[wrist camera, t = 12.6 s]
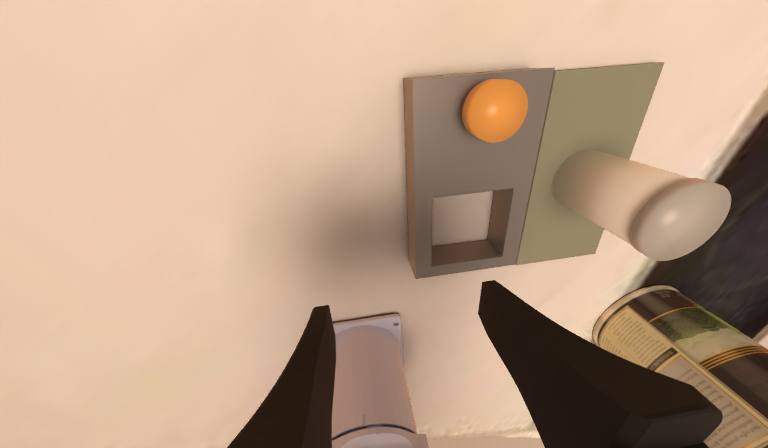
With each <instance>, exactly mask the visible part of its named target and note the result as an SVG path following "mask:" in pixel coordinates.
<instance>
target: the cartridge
mask: <svg viewBox="0 0 768 448" xmlns="http://www.w3.org/2000/svg"><path fill="white" fill-rule="evenodd" d="M552 193H553V196H554V198H555V199H556V200H557V201H558V202H559V203H561V204H563V205H565V206H566V207H568V208H570V209H571V210H573V211H575V212H577V213H578V214H580V215H582V216H583V217H585V218H587V219H588V220H590V221H592V222H594V223H595V224H597V225H599V226H600V227H602V228H604V229H605V230H607V231H609V232H611V233H612V234H614V235H616V236H617V237H619V238H621V239H622V240H624V241H626V242H628V243H629V244H631V245H632V246H633V247H634V248H635V249H636V250H638V251H639V252H641V253H643V254H644V255H646V256H648V257H649V258H651V259H653V260H657V261H668V260H673V259H676V258H679V257H682V256H684V255H686V254H688V253H690V252H692V251H693V250H695V249H696V248H698V247H699V246H701V245H702V244H703V243H704V242H706V241H707V240H708V239H709V238H710V237H711V236H712V235H713V234H714V233H715V232H716V231H717V230H718V228H719V227H720V226H721V224H722V223H723V222H724V220H725V218H726V216H727V214H728V212H729V209H730V205H731V196H730V193H729V191H728V190H727V188H725V187H724V186H722V185H719V184H716V183H713V182H709V181H706V180H702V179H697V178H688V177H685V176H681V175H678V174H675V173H671V172H668V171H665V170H661V169H658V168H655V167H651V166H648V165H645V164H641V163H638V162H635V161H631V160H628V159H625V158H621V157H618V156H615V155H611V154H608V153H605V152H601V151H598V150H593V149H588V150H583V151H580V152H577V153H576V154H574V155H572V156H571V157H569V158H568V159H567V160H566V161H565V162H564V163H563V164H562V165H561V166H560V167H559V169H558V170H557V172H556V174H555V176H554V179H553V183H552Z"/></svg>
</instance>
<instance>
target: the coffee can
mask: <svg viewBox="0 0 768 448" xmlns="http://www.w3.org/2000/svg"><path fill="white" fill-rule="evenodd" d="M593 340H594V342H595V344H596V345H597V346H598V347H600V348H602V349H604V350H607V351H609V352H611V353H613V354H615V355H617V356H619V357H621V358H624V359H626V360H628V361H630V362H633V363H635V364H638V365H640V366H642V367H645V368H647V369H650V370H652V371H655V372H657V373H660V374H663V375H666V376H668V377H671V378H674V379H676V380H679V381H682V382H685V383H687V384H690V385H692V386H693V387H695V388H696V389H697V390H698V391H699V392H700V393H701V394H703V395H704V396H705V397H706V398H707V399H708V400H709V401H710V402H712V403H713V404H714V405H715V406H716V407H717V408H718V409H719V410H721V412H722V414H723V419H722V422H721V424H720V425H719V426H718V427H717V428H716V429H715V430H714V431H713V432H712V433H711V434H710V436H709V437H708V438H707V439H706V440H705V441H704V443H705V444H706V445H707V446H708V447H709V448H768V349H766V348H764V347H763V346H761V345H760V344H758V343H757V342H755V341H754V340H752V339H751V338H749V337H748V336H746V335H744V334H743V333H741V332H740V331H738V330H737V329H735V328H734V327H732V326H731V325H729V324H727V323H726V322H724V321H723V320H721V319H720V318H718V317H717V316H715V315H714V314H712V313H711V312H709V311H707V310H706V309H704V308H703V307H701V306H700V305H698V304H697V303H695V302H694V301H692V300H691V299H689V298H687V297H686V296H684V295H683V294H681V293H680V292H679V291H678V290H677V289H675V288H673V287H671V286H667V285H653V286H648V287H645V288H641V289H638V290H636V291H633V292H631V293H629V294H627V295H625V296H624V297H622V298H620V299H619V300H618V301H616V302H615V303H613V304H612V305H611V306H610V307H609V308H608V309H607V310H606V311H605V312H604V313H603V314H602V315H601V316H600V318H599V319H598V321H597V322H596V324H595V326H594V330H593Z"/></svg>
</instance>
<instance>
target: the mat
mask: <svg viewBox="0 0 768 448" xmlns="http://www.w3.org/2000/svg"><path fill="white" fill-rule="evenodd" d="M663 65H664V62H659V63H644V64H632V65H619V66H607V67H595V68H582V69H570V70H558V71H554V74H553V79H552V84H551V89H550V94H549V99H548V104H547V109H546V114H545V119H544V124H543V129H542V134H541V139H540V144H539V149H538V154H537V159H536V164H535V169H534V174H533V179H532V184H531V189H530V194H529V199H528V204H527V209H526V214H525V219H524V224H523V229H522V234H521V238H520V243H519V248H518V253H517V258H516V263H515V264H516V265H520V264H527V263H534V262H541V261H548V260H555V259H562V258H568V257H575V256H582V255H589V254H595V252H596V249H597V247H598V244H599V241H600V238H601V236H602V233H603V230H604V228H602V227H600V226H599V225H597V224H595V223H594V222H592V221H590V220H588V219H587V218H585V217H583V216H582V215H580V214H578V213H577V212H575V211H573V210H571V209H570V208H568V207H566V206H565V205H563V204H561V203H559V202H558V201H557V200H556V199H555V198H554V196H553V193H552V183H553V179H554V176H555V174H556V172H557V170H558V169H559V167H560V166H561V165H562V164H563V163H564V162H565V161H566V160H567V159H568V158H569V157H571V156H572V155H574V154H576V153H577V152H580V151H583V150H588V149H593V150H598V151H601V152H605V153H608V154H611V155H615V156H618V157H621V158H625V159H628V160H629V158H630V156H631V153H632V150H633V147H634V145H635V142H636V139H637V136H638V134H639V131H640V128H641V125H642V123H643V120H644V117H645V114H646V112H647V109H648V106H649V103H650V101H651V98H652V95H653V92H654V90H655V87H656V84H657V81H658V79H659V76H660V73H661V70H662V68H663Z"/></svg>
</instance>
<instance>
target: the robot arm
mask: <svg viewBox="0 0 768 448" xmlns="http://www.w3.org/2000/svg"><path fill="white" fill-rule="evenodd" d="M478 314H479V317H480V319H481V321H482V324H483V326H484V328H485V331H486V333H487V335H488V337H489V338H490V340H491V342H492V344H493V345H494V347H495V349H496V350H497V352H498V354H499V356H500V357H501V359H502V361H503V362H504V364H505V366H506V367H507V369H508V371H509V373H510V374H511V376H512V378H513V379H514V381H515V383H516V385H517V387H518V389H519V391H520V393H521V395H522V397H523V399H524V401H525V404H526V406H527V408H528V410H529V412H530V414H531V417H532V419H533V421H534V423H535V426H536V428H537V430H538V432H539V435H540V437H541V439H542V442H543V444H544V446H545V448H709V447H708V446H707V445H706V444H705V443H704V441H705V440H706V439H707V438H708V437H709V436H710V434H711V433H712V432H713V431H714V430H715V429H716V428H717V427H718V426H719V425H720V424H721V422H722V419H723V414H722V412H721V410H719V409H718V408H717V407H716V406H715V405H714V404H713V403H712V402H710V401H709V400H708V399H707V398H706V397H705V396H704V395H703V394H701V393H700V392H699V391H698V390H697V389H696V388H695V387H693V386H692V385H690V384H687V383H685V382H682V381H679V380H676V379H674V378H671V377H668V376H666V375H663V374H660V373H657V372H655V371H652V370H650V369H647V368H645V367H642V366H640V365H638V364H635V363H633V362H630V361H628V360H626V359H624V358H621V357H619V356H617V355H615V354H613V353H611V352H609V351H607V350H604V349H602V348H600V347H598V346H596V345H594V344H592V343H590V342H588V341H586V340H585V339H583V338H581V337H579V336H577V335H576V334H574V333H572V332H570V331H568V330H567V329H565V328H563V327H562V326H560V325H558V324H557V323H555V322H554V321H552V320H551V319H549V318H547V317H546V316H544V315H543V314H541V313H540V312H538V311H537V310H535V309H534V308H533V307H531V306H530V305H528V304H527V303H525V302H524V301H523V300H521V299H520V298H519V297H517V296H516V295H514V294H513V293H512V292H510V291H509V290H508V289H506V288H505V287H504V286H502V285H501V284H499V283H498V282H497V281H495V280H493V281H486V282H482V289H481V296H480V303H479V311H478ZM395 322H397V323H395ZM227 448H429V447H428V443H427V438H426V435H425V434H417V430H416V425H415V420H414V416H413V411H412V406H411V402H410V397H409V393H408V388H407V383H406V379H405V374H404V369H403V350H402V331H401V318H400V315H399V314H391V315H384V316H378V317H371V318H365V319H359V320H352V321H346V322H339V323H333V322H332V318H331V313H330V309H329V305H326V306H319V307H315V308H314V309H313V311H312V313H311V316H310V319H309V321H308V323H307V326H306V328H305V330H304V333H303V335H302V337H301V339H300V341H299V343H298V345H297V347H296V349H295V351H294V353H293V355H292V356H291V358H290V360H289V362H288V364H287V365H286V367H285V369H284V371H283V372H282V374H281V376H280V377H279V379H278V380H277V382H276V384H275V385H274V387H273V388H272V390H271V391H270V393H269V394H268V396H267V397H266V398H265V400H264V401H263V403H262V404H261V405H260V407H259V408H258V410H257V411H256V412H255V414H254V415H253V416H252V418H251V419H250V420H249V422H248V423H247V424H246V425H245V426H244V428H243V429H242V430H241V431H240V433H239V434H238V435H237V436H236V438H235V439H234V440H233V441H232V442H231V444H230V445H229V446H228V447H227Z"/></svg>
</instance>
